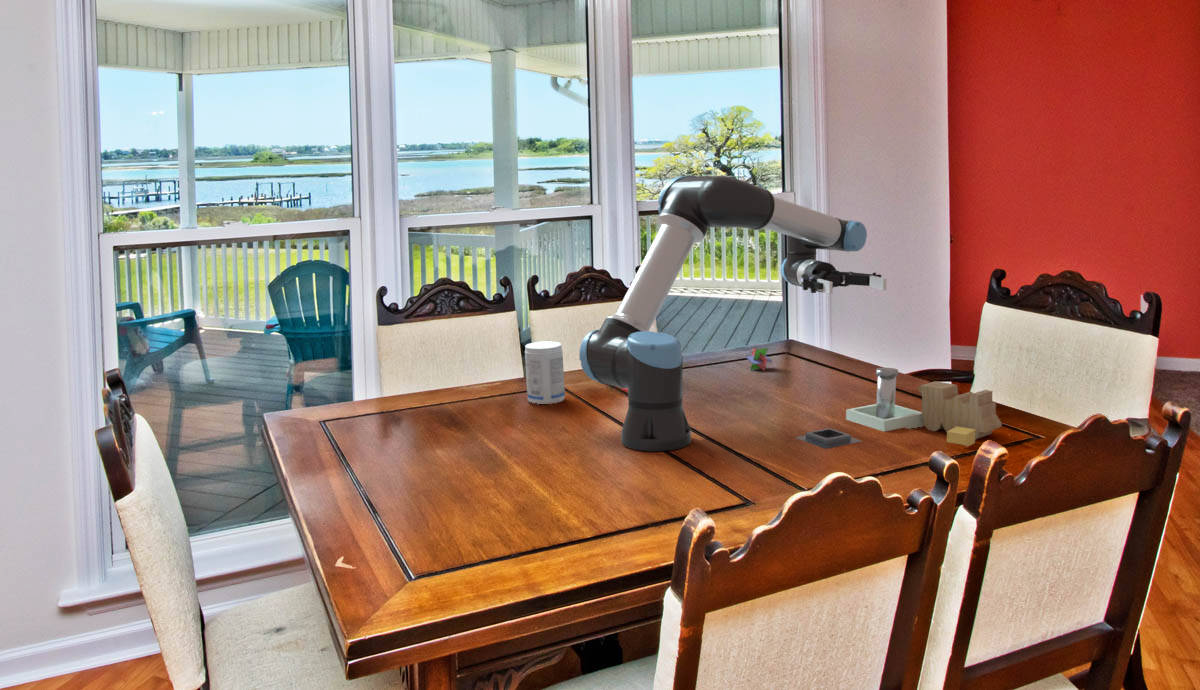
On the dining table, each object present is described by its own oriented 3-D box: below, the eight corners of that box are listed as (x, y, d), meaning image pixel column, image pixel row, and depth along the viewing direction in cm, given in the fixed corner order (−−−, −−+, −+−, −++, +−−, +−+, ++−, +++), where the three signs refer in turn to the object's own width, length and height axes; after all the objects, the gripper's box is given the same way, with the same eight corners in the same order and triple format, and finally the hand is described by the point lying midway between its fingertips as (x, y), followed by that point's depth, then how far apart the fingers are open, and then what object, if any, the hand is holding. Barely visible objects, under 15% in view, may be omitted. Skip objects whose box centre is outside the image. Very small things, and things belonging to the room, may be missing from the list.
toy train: (986, 443, 212) (988, 397, 210) (916, 427, 226) (918, 384, 224) (1001, 438, 216) (1003, 392, 214) (931, 423, 229) (933, 380, 227)
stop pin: (884, 425, 225) (887, 373, 223) (869, 421, 229) (871, 369, 227) (900, 422, 227) (902, 370, 225) (884, 418, 232) (887, 366, 229)
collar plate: (825, 452, 209) (825, 443, 209) (794, 441, 218) (794, 432, 217) (862, 444, 214) (862, 435, 213) (830, 433, 222) (830, 425, 222)
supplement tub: (561, 395, 264) (559, 339, 261) (568, 403, 255) (566, 346, 252) (524, 398, 262) (522, 342, 259) (530, 406, 253) (527, 349, 250)
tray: (884, 434, 220) (884, 421, 220) (846, 422, 231) (846, 409, 230) (924, 426, 226) (924, 413, 225) (885, 415, 236) (885, 402, 236)
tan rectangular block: (965, 448, 209) (966, 434, 208) (946, 445, 212) (947, 431, 211) (974, 443, 213) (975, 429, 212) (956, 440, 215) (956, 426, 215)
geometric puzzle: (780, 364, 284) (769, 339, 287) (761, 367, 281) (750, 342, 284) (767, 375, 290) (756, 351, 293) (748, 378, 287) (737, 353, 290)
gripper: (862, 287, 258) (906, 299, 238) (771, 293, 252) (807, 305, 232) (863, 258, 256) (907, 267, 236) (771, 263, 251) (808, 273, 230)
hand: (858, 286), depth 234 cm, fingers open, 13 cm apart
